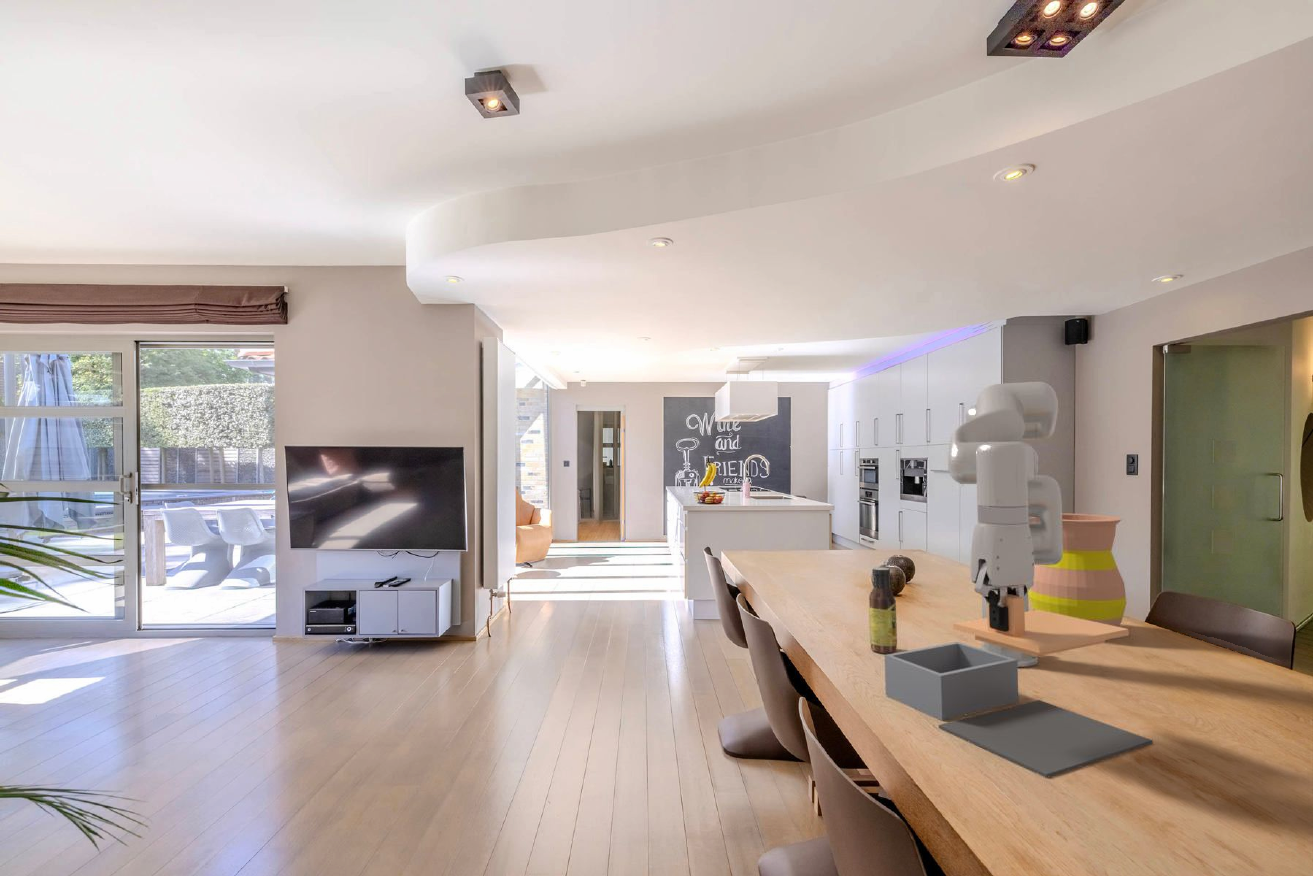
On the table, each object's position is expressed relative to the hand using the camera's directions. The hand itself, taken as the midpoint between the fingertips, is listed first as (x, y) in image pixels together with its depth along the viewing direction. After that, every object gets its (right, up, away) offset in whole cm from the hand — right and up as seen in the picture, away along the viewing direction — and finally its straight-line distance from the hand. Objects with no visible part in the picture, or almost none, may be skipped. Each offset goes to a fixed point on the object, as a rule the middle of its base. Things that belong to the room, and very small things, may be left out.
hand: (1005, 627), depth 110 cm
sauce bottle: (-2, -21, +52) cm, 56 cm away
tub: (0, -20, +20) cm, 28 cm away
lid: (+7, -3, +3) cm, 9 cm away
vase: (+54, -20, +67) cm, 88 cm away
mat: (+8, -19, +3) cm, 21 cm away
